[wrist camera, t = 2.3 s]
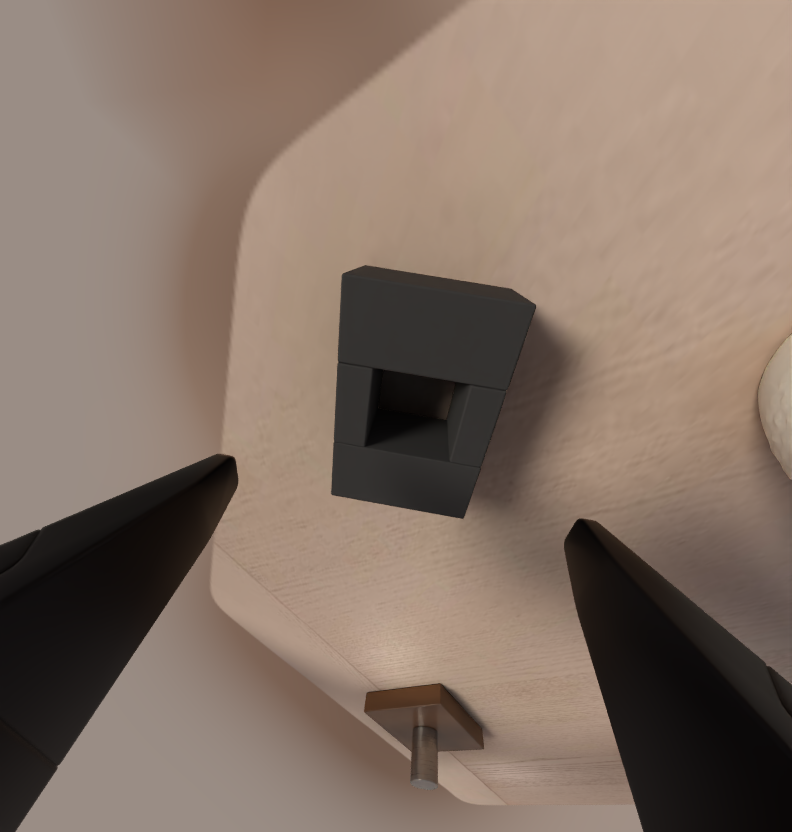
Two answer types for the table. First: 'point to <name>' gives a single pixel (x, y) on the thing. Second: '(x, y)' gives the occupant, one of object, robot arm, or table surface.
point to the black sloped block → (430, 357)
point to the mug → (778, 404)
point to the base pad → (424, 726)
